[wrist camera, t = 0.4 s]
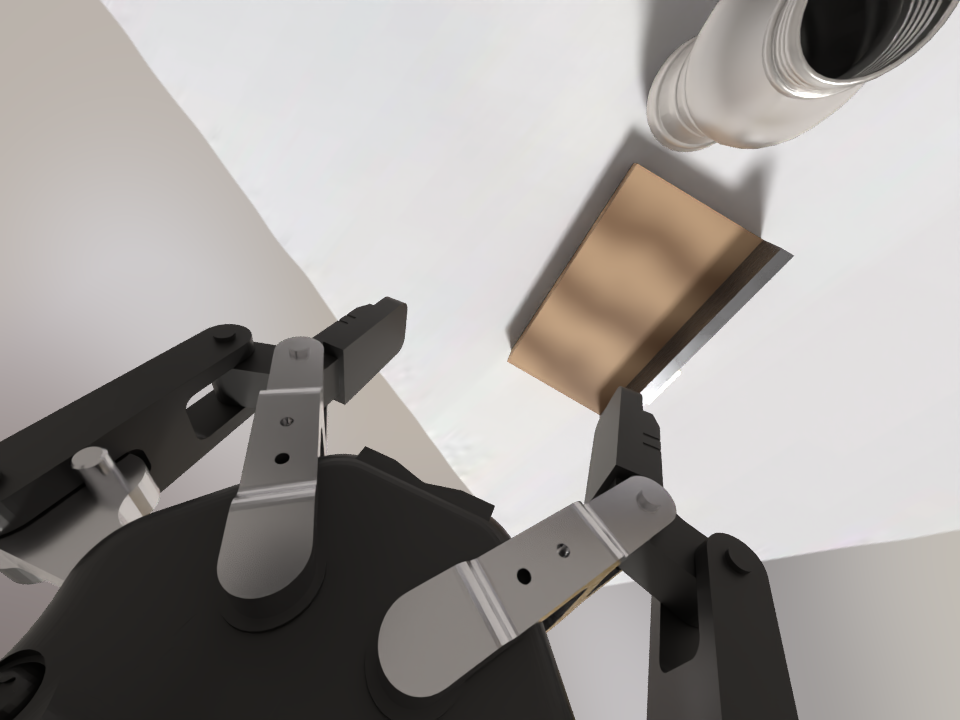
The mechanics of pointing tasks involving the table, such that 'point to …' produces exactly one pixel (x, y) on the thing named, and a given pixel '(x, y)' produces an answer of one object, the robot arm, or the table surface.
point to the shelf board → (629, 288)
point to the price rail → (709, 319)
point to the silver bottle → (781, 67)
